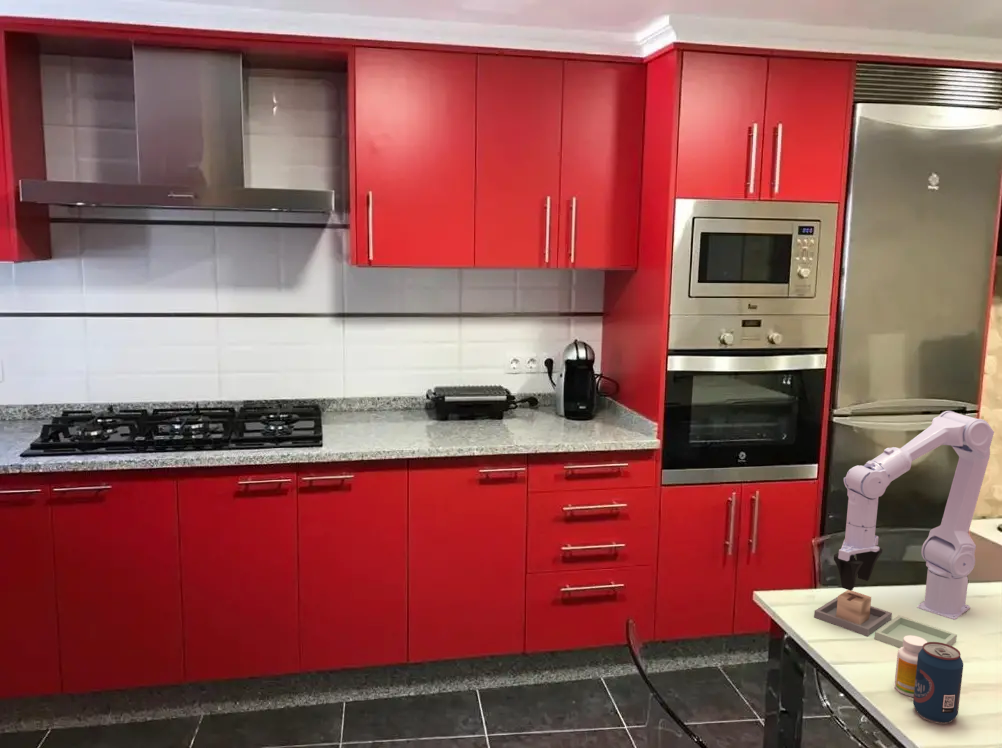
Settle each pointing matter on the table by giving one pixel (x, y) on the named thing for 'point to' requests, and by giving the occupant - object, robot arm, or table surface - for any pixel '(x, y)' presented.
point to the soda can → (938, 682)
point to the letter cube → (853, 607)
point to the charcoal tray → (866, 629)
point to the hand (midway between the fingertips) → (855, 583)
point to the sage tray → (912, 632)
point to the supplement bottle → (908, 664)
